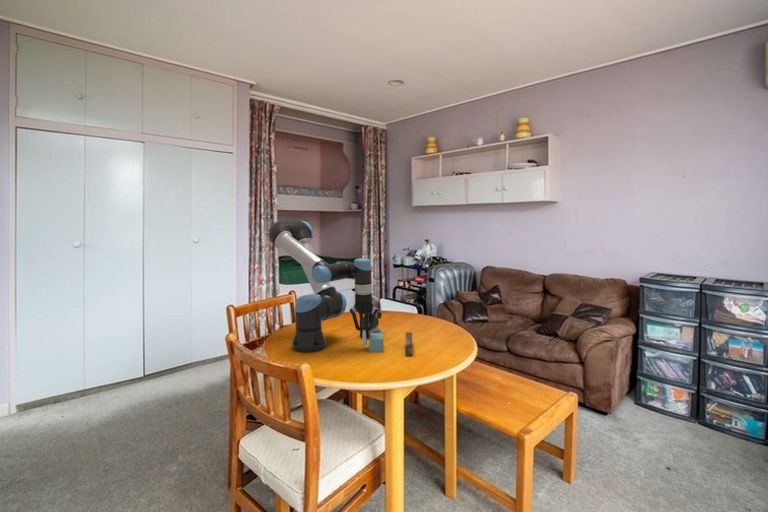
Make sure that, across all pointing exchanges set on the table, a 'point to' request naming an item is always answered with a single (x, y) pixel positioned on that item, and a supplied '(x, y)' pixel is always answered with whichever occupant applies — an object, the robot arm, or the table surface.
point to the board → (408, 344)
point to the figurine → (378, 316)
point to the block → (376, 342)
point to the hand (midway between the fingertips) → (364, 345)
